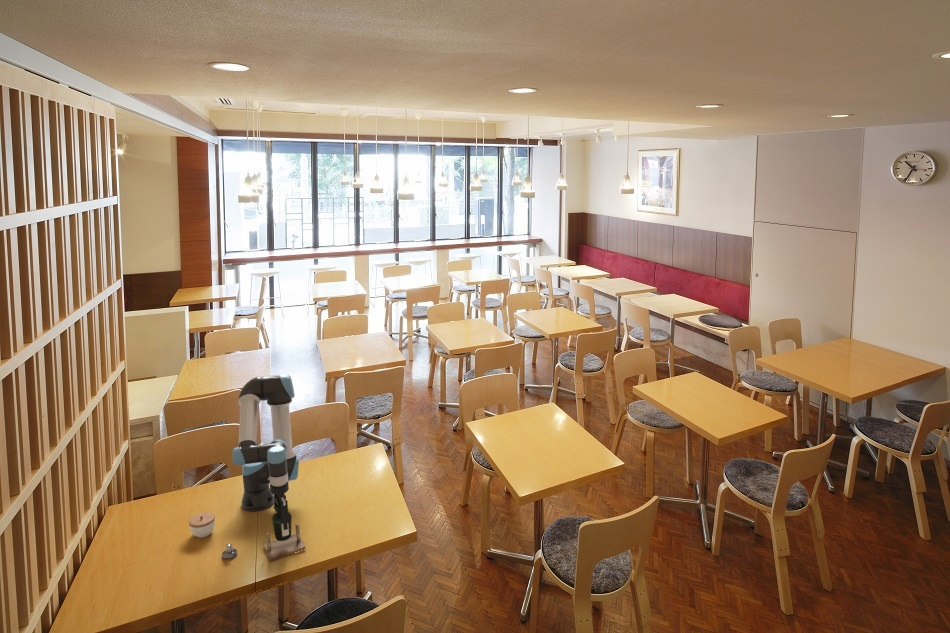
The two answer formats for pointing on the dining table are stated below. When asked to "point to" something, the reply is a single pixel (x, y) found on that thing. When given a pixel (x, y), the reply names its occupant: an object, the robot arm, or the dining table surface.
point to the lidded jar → (202, 524)
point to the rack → (283, 546)
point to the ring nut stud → (229, 552)
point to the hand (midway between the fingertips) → (282, 530)
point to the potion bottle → (277, 526)
